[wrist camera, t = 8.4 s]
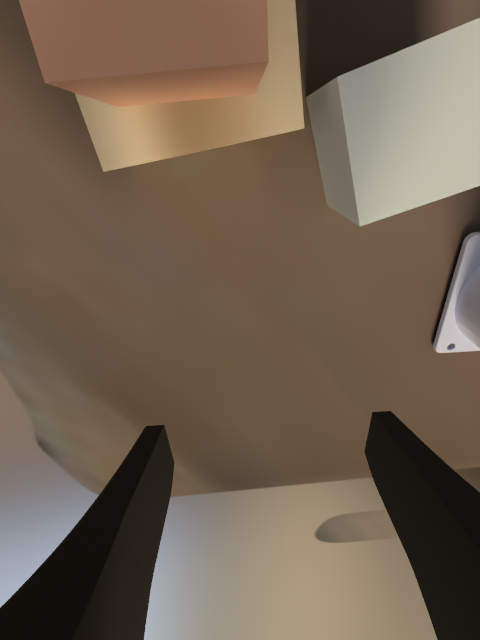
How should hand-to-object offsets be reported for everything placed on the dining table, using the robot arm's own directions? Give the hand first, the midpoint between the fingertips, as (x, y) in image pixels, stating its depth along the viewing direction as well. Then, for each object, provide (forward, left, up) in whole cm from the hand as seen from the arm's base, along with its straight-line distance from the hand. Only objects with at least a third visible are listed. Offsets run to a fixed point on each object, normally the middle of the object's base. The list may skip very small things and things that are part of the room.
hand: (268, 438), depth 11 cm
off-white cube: (-6, -9, -10) cm, 15 cm away
